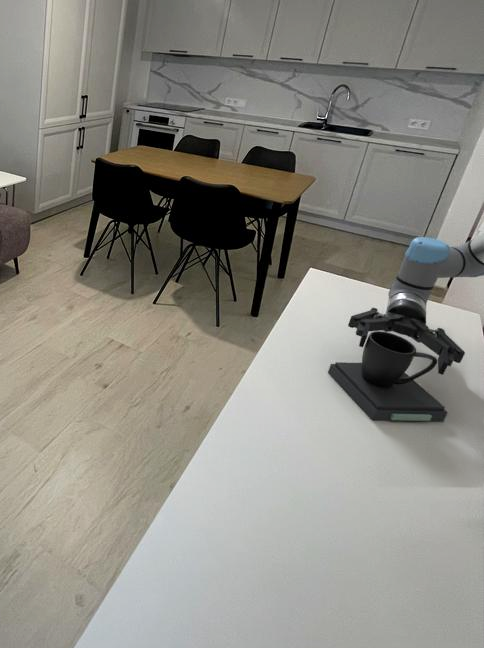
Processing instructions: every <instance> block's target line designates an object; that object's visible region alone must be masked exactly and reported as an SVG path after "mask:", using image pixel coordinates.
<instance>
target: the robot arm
mask: <svg viewBox="0 0 484 648" xmlns="http://www.w3.org/2000/svg"><path fill="white" fill-rule="evenodd" d="M483 276H484V233H482V234H479V235H477V236H476V237H474V238H472V239H470V240H468V241H466V242H464V243H463V244H460V245H457V246H450V245H449V244H448V243H446V242H445V241H443V240H440V239H436V238H433V237H426V236H418V237H415V238H413V239H412V240H411V242H410V244H409V246H408V248H407V249H406V251H405V253H404V257H403V260H402V262H401V265H400V267H399V270H398V273H397V275H396V277H395V279H394V281H393V284H392V285H391V286H390V288H389V291H388V300H387V305H386V311H385V313H384V314H383V313H380V311H379V309H378V308H376V307H371V308H370V310H367V311H363V312H359V313H356V314H352V315H351V316H350V319H349V322H348V324H347V326H348V327H349V328H352V329H353V328H355V336H358V337H360V340H359V343H358V347H360V348H364V347H365V344H366V342H367V339H368V337H369V332H375V331H381V332H387V333H391V332H393V333H396V334H399V335H401V336H402V335H403V336H407V337H408V338H411V339H413V340H414V341H415V342H416V343H419V344H420V343H421V344H423V345H424V347H426V348H428V349H429V350H431V351H432V352H433V353H435V354H436V355H437V356H438V358H437V371H438V372H437V373H438V374H439V375H442V376H444V374H445V372H446V370H447V367H452V365H453V364H454V363H453V362H455V363H456V364H461V362H462V361H463V358H464V357H465V354H466V352H465V351H464V350H463V349H462V348H461V346H459V345H458V344H457V343H456V342H455V341H454V340H453V339H452V338H451V337H450V336H449V335H447V333H446V331H445V329H444V328H441V327H437V328H436V329H432V328H430V327H429V326H428V325H427V303H428V300H429V298H430V296H431V293H432V291H433V290H434V287H435V285H436V283H437V281H438V279H445V278H447V279H449V278H479V277H483Z"/></svg>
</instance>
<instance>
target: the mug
mask: <svg viewBox="0 0 484 648" xmlns="http://www.w3.org/2000/svg"><path fill="white" fill-rule="evenodd" d="M414 358H425V359H429V360H431V362H430V363H429V364H428V365H427V366H426V367H425V368H423V369H422V370H420V371H417V372H416V373H414V374H411V375H408V376H409V377H406V378H400V377H401V376H402V375H403V374H404V373H406V372H407V370H408V369H409V367H410V366H411V365H412V362H413V360H414ZM361 363H362V377H363V378H364V380H366V381H367V382H368V383H370V384H372V385H374V386H377V387H381V388H390V387H391V386H392V385H393V384H396V385H401V384H405V383H407V382H410V381H412V380H414V381H415V380H416V379H418V378H420V377H422V376H424V375H426V374H428V373H429V372H431V371H432V370H434V369H435V367H436V366H437V365H438V358H437V357H436V356H434V355H432V354H429V353H424V352H419V351H417V348H416V346H415V344H413V343H412V342H411V341H409V340H408V339H406V338H404V337H402V336H400V335H397V334H394V333H391V332H385V331H382V330H381V331H371V332H370V333H368V336H367V339H366V341H365V344H364V346H363V350H362V356H361Z"/></svg>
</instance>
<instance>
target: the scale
mask: <svg viewBox="0 0 484 648" xmlns="http://www.w3.org/2000/svg"><path fill="white" fill-rule="evenodd" d="M327 373H328V374H329V375H330V377H331V378H333V380H334V381H335V382H336V383H337V384H338V385H339V386H340V387H341V389H343V391H344V392H345V393H346V394H347V395H348V396H349V397H350V398H351V399H352V400H353V401H354V402H355V404H356V405H357V406H359V408H360V409H361V410H362V411H363V412H364V413H365V415H367V416H368V418H369V419H371V420H372V421H393V422H395V421H396V422H397V421H398V422H403V421H404V422H442V423H443V422H445V419H446V417H447V415H448V413H449V412H448V411H447V410H446V406H444V405H443V404H442V403H441V402H439V401H438V400H437V399H436V398H435V397H434V396H433V395H432V394H430V393H429V392H428V391H427V390H426V389H425V388H423V386H422V385H420V384H419V383H418V382H416V381H415V379H414V380H412V381H410V382H407V383H405V384H401V385H396V384H393V385H392V386H391V387H390V388H381V387H377V386H374V385H372V384H370V383H368V382H367V381H366V380H364V378H363V377H362V362H342V361H341V362H338V361H337V362H335V363H330V365H329V367H328V370H327ZM409 376H410V375H408V374H407V373H406V372H405V373H404V374H403V375H402V376H401V377H400V378H406V377H409Z"/></svg>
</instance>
